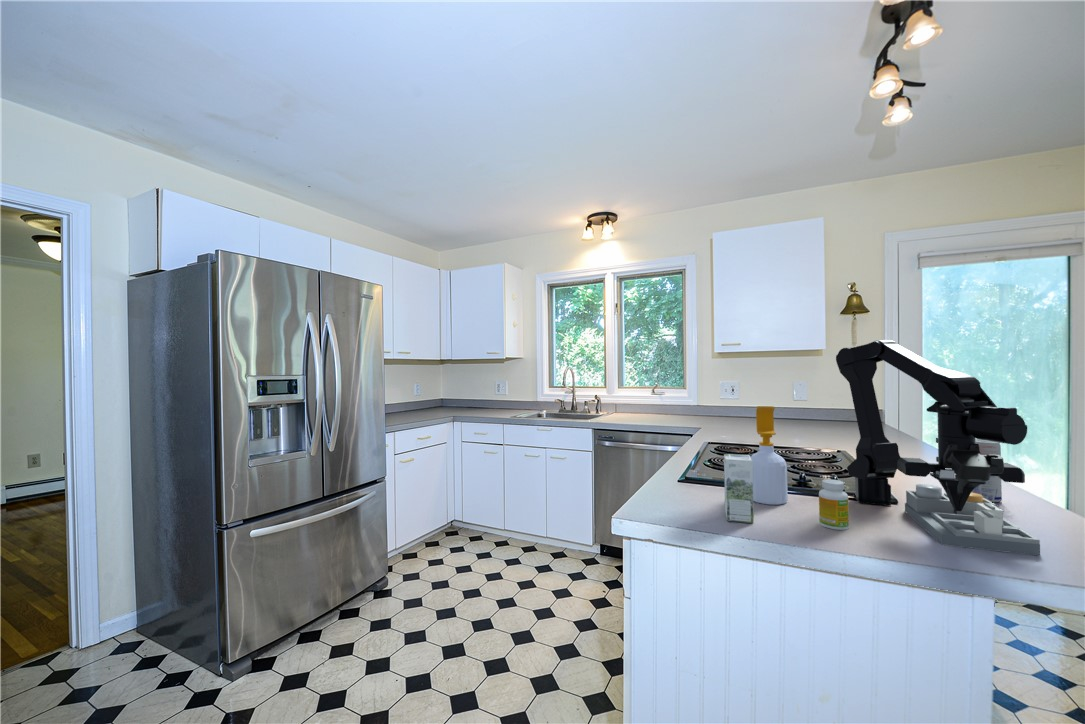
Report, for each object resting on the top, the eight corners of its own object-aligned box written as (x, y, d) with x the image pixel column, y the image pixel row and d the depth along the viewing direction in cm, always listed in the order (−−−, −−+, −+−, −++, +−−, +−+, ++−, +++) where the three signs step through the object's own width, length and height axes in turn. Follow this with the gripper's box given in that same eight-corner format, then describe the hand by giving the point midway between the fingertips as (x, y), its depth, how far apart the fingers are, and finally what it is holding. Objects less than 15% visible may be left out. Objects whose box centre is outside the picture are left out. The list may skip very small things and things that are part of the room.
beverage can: (1008, 503, 108) (1006, 442, 108) (981, 503, 109) (979, 442, 109) (990, 496, 113) (988, 438, 113) (964, 496, 114) (963, 438, 114)
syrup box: (751, 515, 104) (749, 454, 104) (754, 524, 99) (752, 459, 99) (725, 513, 106) (723, 453, 106) (726, 522, 101) (725, 458, 101)
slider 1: (986, 526, 89) (986, 507, 89) (976, 520, 92) (976, 501, 92) (1003, 528, 88) (1003, 508, 88) (992, 521, 91) (992, 502, 91)
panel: (942, 544, 86) (941, 518, 86) (905, 511, 105) (904, 490, 104) (1040, 555, 80) (1039, 528, 80) (982, 518, 99) (982, 495, 99)
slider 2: (984, 536, 84) (984, 515, 84) (974, 528, 88) (973, 508, 88) (1002, 537, 83) (1001, 517, 83) (990, 530, 87) (990, 510, 87)
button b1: (920, 502, 99) (920, 488, 99) (913, 497, 103) (912, 483, 103) (945, 504, 97) (945, 490, 97) (937, 498, 101) (936, 485, 101)
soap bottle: (749, 503, 113) (747, 407, 113) (747, 493, 121) (745, 403, 121) (789, 507, 109) (787, 407, 109) (784, 496, 118) (782, 404, 118)
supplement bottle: (841, 532, 93) (840, 486, 93) (814, 524, 98) (813, 480, 98) (853, 526, 96) (852, 482, 96) (827, 519, 101) (825, 476, 101)
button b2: (961, 510, 96) (960, 496, 96) (951, 504, 100) (951, 490, 100) (987, 513, 95) (987, 498, 95) (977, 506, 99) (976, 492, 99)
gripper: (915, 440, 88) (916, 518, 88) (1042, 445, 81) (1044, 530, 81) (895, 431, 98) (897, 501, 99) (1007, 435, 91) (1008, 510, 91)
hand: (957, 510), depth 92 cm, fingers closed
